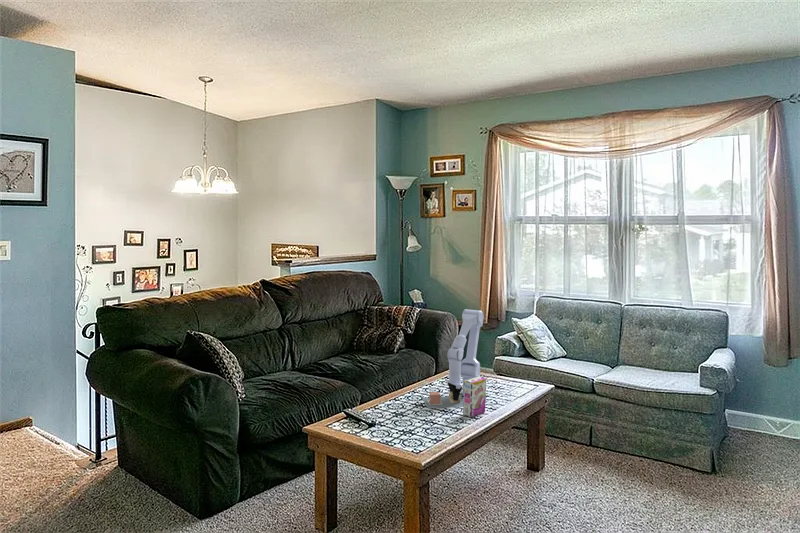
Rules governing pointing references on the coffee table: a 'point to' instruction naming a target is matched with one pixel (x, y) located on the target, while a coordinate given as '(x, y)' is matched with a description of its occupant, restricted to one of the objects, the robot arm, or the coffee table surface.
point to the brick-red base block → (434, 397)
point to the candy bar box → (474, 396)
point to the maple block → (452, 398)
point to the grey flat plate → (443, 403)
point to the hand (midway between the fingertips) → (454, 398)
